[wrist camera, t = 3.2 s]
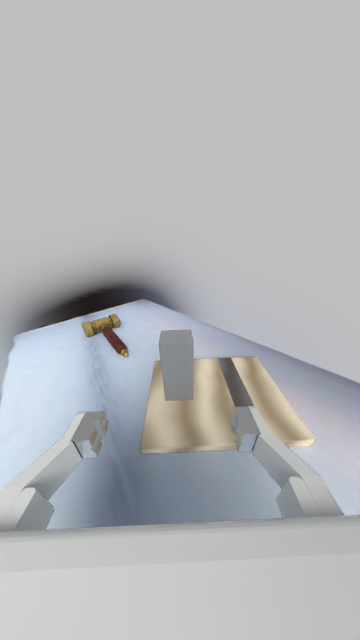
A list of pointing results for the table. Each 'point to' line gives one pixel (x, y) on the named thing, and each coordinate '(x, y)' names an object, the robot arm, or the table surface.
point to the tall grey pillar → (177, 364)
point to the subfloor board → (218, 408)
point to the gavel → (106, 331)
